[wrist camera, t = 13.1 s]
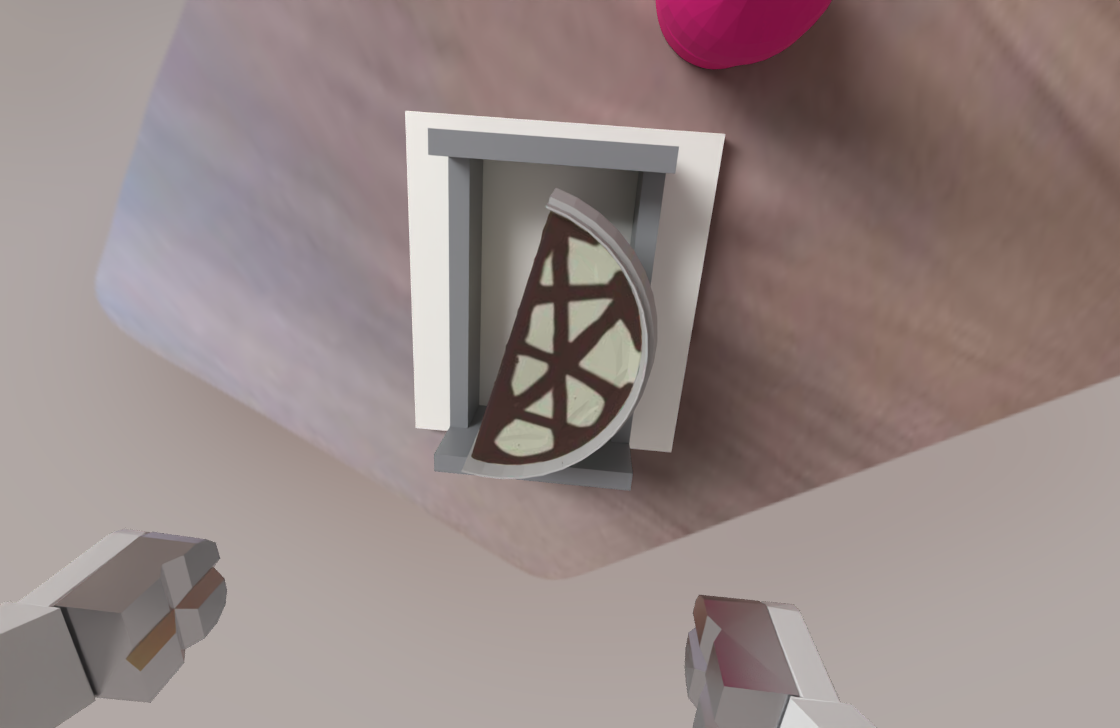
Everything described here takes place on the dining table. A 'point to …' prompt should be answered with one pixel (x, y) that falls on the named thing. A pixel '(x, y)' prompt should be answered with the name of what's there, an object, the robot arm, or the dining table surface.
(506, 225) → the slot stand
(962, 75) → the dining table surface
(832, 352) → the dining table surface
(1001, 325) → the dining table surface
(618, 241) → the food container
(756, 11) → the pepper mill
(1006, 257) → the dining table surface
